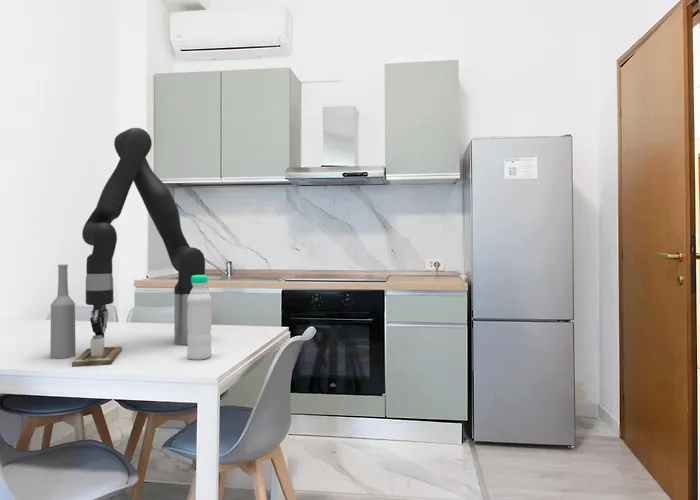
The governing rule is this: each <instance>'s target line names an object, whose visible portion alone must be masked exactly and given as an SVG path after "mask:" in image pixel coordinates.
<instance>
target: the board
mask: <svg viewBox="0 0 700 500" xmlns="http://www.w3.org/2000/svg"><path fill="white" fill-rule="evenodd" d="M122 352H123V347H122V346H118V345H117V346H104V354H103V355H102V356H92V357H91V347H88V348H86V349H85V350H84V352H82V353H81V354H79V356H78V357H76V358H75V359H74V360H73V361H72V362H71V367H74V366H75V368H76V367H91V366H104V365H105V366H106V365H107V366H108V365H112V364H113V362H115V360H116V359H117V358H118V357H119V355H120V354H121V353H122Z"/></svg>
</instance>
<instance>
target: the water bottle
mask: <svg viewBox="0 0 700 500" xmlns="http://www.w3.org/2000/svg"><path fill="white" fill-rule="evenodd" d="M208 281H209V279H208V276H207V275H206V274H205V275H193V276H192V277H191V283H192V285H193V288H192V290H191V291H190V294H189V296H188V298H187V303H188V309H187V329H188V336H187V344H188V345H187V347H186V348H187V351H186V352H187V353H186V355H187V356H186V357H187V358H188V359H189V360H192V361H193V360H194V361H199V360H200V361H201V360H206V359H209V358H210V357H212V334H211V333H212V332H211V331H212V296H211V295H210V293H209V290H208V288H207V284H208Z"/></svg>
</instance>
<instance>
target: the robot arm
mask: <svg viewBox="0 0 700 500" xmlns="http://www.w3.org/2000/svg"><path fill="white" fill-rule="evenodd" d="M152 142H153V141H152V138H151V136H150V134H149V132H148V131H146V130H145V129H143V128H141V127H132V128H129V129H126V130H124V131H122V132H120V133H118V134H117V135H116V137H114V142H113V143H114V144H113V145H114V149H115V152H116V154H117V155H118V158H119V161H118V163H117V165H116V167H115V169H114V170H113V172H112V174H111V175H110V177H109V178H108V180H107V181H106V182H105V185H104V186H103V189H102V191H101V193H100V197H99V199H98V201H97V204H96V206H95V208H94V210H93V211H92V213H91V214H90V215H89V216H88V219H87V220H86V222H85V224H84V225H83V227H82V233H81V235H82V239H83V241H84V242H85V243H86V244H87V245H89V246H92V252H91V254H89V255H87V258H86V265H85V266H86V271H85V272H86V276H85V304H86V305H88V306H93V308H92V310H91V312H90V314H91V317H90V323H91V328H92V332H93V333H94V335H102V337H104V338H105V333H106V330H107V327H108V326H107V325H108V320H109V309H107V305H111V304H113V303H114V277H113V257H114V254H115V251H116V246H117V241H118V234H117V230H116V228H115V227H114V226H113V224H112V222H114V221H115V220H117V219H118V218H119V217H120V216H121V213H122V211H123V209H124V206H125V203H126V200H127V198H128V195H129V192H130V189H131V188H132V185H133V183H134V186H135V187H136V189H137V192H138V193H139V195H140V197H141V199H142V202H143V204H144V206H145V209H146V211H147V213H148V214H149V217H150V218H151V220H152V222H153V225H154V226H155V229H156V230H157V232H158V234H159V235H160V237H161V239H162V241H163V243H164V246H165V250H166V252H167V254H168V257H169V261H170V263H171V266H172V267H173V268H174V270H176V272H178V276H177V277H178V279H177V282H176V284H175V285H174V291H173V292H174V303H173V304H174V305H173V306H174V308H173V309H174V315H173V316H174V318H173V319H174V320H173V321H174V324H173V325H174V327H173V328H174V336H173V338H174V344H175V345H180V346H188V344H187V336H188V329H187V309H188V303H187V298H188V296H189V294H190V291H191V290H192V288H193V285H192V283H191V277H192V276H193V275H206V259H205V255H204V253H203V252H202V251H201V250H200V249H199V248H196V247H191V246H190V245H189V243H188V241H187V240H186V237H185V235H184V233H183V230H182V225H181V218H180V212H179V209H178V205H177V203H176V201H175V199H174V197H173V194H172V193H171V191H170V189H169V188H168V186H166V185H165V184H164V182H163V181H162V180H161V179H160V178H159V177H158V176H157V174H155V172H154V171H153V170H152V168H151V166H150V164H149V162H148V160H147V158H146V157H147V156H148V154H149V153H150V151H151V150H152V149H151V148H152V145H153V143H152Z"/></svg>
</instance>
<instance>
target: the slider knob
mask: <svg viewBox="0 0 700 500" xmlns="http://www.w3.org/2000/svg"><path fill="white" fill-rule="evenodd" d="M104 347H105V336H104V337H102V335H95V334H94V335H92V338H91V339H90V348H91V357H92V356H102V355H103V354H104Z"/></svg>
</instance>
